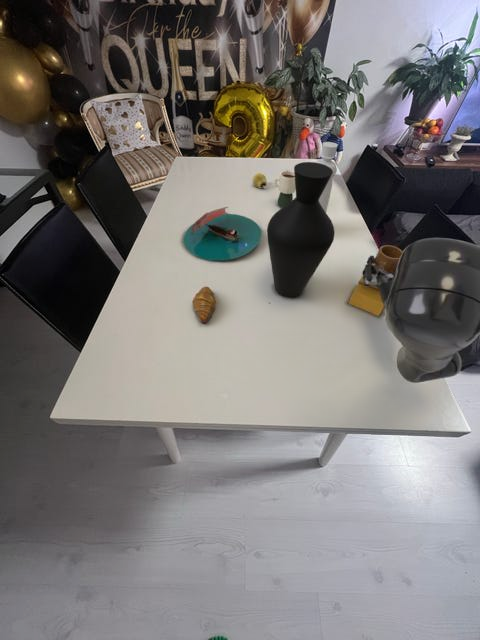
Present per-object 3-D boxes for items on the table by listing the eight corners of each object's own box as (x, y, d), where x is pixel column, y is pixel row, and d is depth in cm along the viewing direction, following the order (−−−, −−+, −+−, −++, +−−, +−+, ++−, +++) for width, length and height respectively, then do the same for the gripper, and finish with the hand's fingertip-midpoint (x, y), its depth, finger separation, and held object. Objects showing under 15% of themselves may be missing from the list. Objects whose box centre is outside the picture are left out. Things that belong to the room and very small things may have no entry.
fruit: (261, 193, 132) (247, 182, 136) (270, 193, 136) (256, 182, 140) (266, 180, 129) (252, 169, 133) (275, 181, 132) (261, 170, 136)
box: (387, 298, 90) (394, 285, 86) (378, 316, 85) (386, 303, 81) (357, 286, 93) (363, 273, 89) (347, 303, 88) (353, 290, 84)
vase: (328, 291, 91) (369, 173, 65) (290, 317, 83) (319, 195, 57) (286, 263, 99) (308, 149, 73) (249, 285, 91) (257, 166, 65)
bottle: (310, 223, 117) (330, 137, 94) (326, 234, 112) (351, 147, 89) (292, 229, 113) (308, 142, 91) (308, 241, 108) (329, 152, 86)
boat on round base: (215, 210, 121) (212, 183, 112) (275, 230, 110) (277, 201, 101) (168, 247, 107) (160, 219, 98) (232, 274, 96) (229, 245, 87)
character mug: (297, 203, 127) (303, 171, 118) (297, 211, 123) (303, 179, 113) (272, 200, 128) (275, 169, 118) (270, 208, 123) (274, 176, 114)
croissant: (194, 290, 89) (193, 278, 85) (217, 291, 89) (216, 278, 86) (190, 325, 80) (188, 312, 76) (215, 325, 80) (215, 312, 77)
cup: (390, 280, 84) (406, 250, 76) (384, 292, 80) (400, 262, 73) (369, 272, 86) (383, 242, 78) (362, 283, 82) (376, 253, 75)
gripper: (441, 293, 66) (416, 249, 77) (376, 288, 66) (360, 245, 78) (424, 315, 72) (403, 271, 83) (365, 311, 72) (351, 268, 83)
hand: (382, 259), depth 80 cm, fingers closed on cup, 6 cm apart
